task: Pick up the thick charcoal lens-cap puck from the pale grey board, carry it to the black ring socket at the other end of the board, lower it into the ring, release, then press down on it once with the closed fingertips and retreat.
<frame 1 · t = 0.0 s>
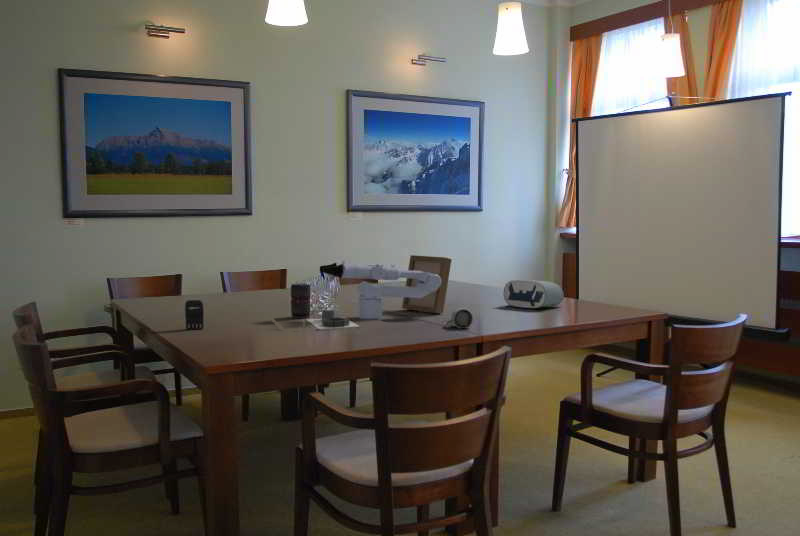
hand: (322, 269, 277), 22 cm above the table, tool horizontal, fingers open, 7 cm apart
photo frame: (430, 311, 310), on the table
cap: (328, 320, 278), point 1 cm above the table, touching board
camera lens: (301, 320, 286), on the table
ceramic mug: (458, 328, 266), on the table
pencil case: (533, 307, 323), on the table
board: (332, 325, 272), on the table
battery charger: (194, 329, 263), on the table
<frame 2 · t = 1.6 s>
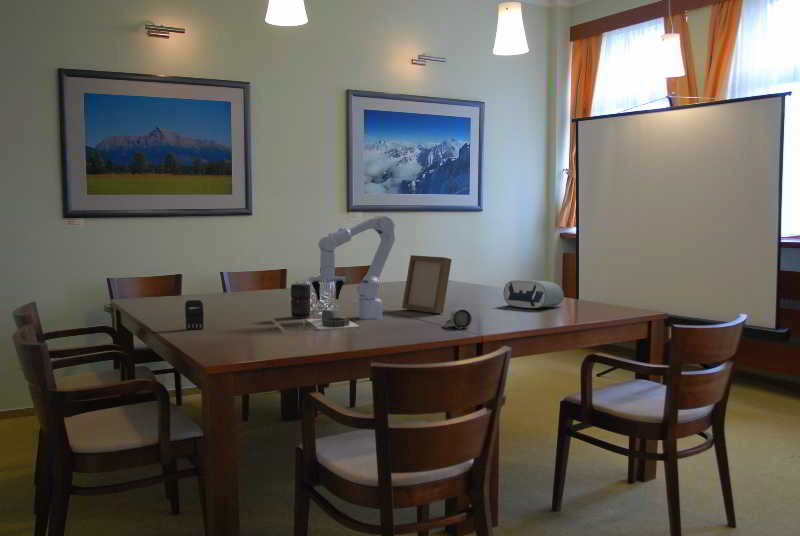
hand: (327, 299, 278), 9 cm above the table, tool pointing down, fingers open, 7 cm apart
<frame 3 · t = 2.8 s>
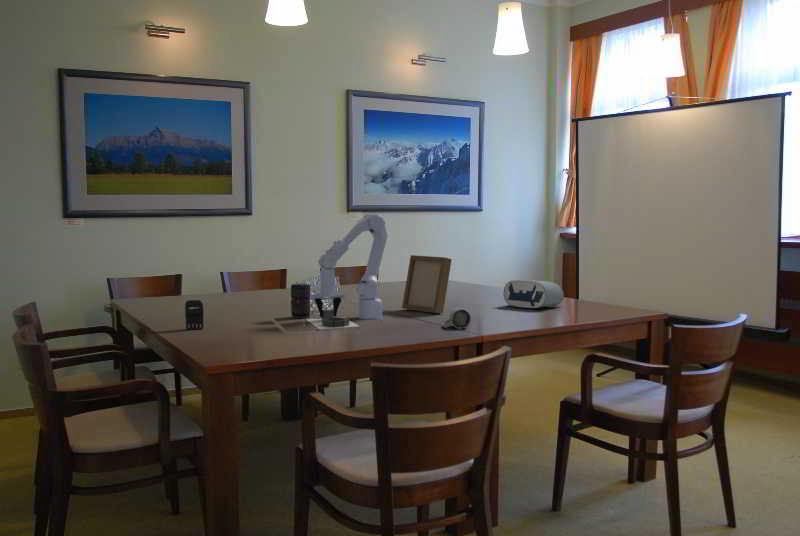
hand: (328, 316, 278), 2 cm above the table, tool pointing down, fingers closed on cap, 5 cm apart
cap: (328, 320, 278), point 1 cm above the table, touching board, gripper
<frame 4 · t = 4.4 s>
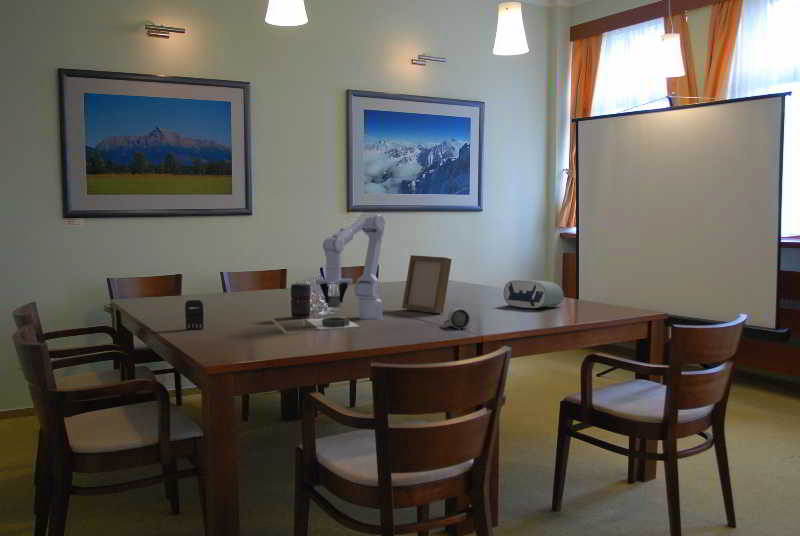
hand: (333, 302, 267), 9 cm above the table, tool pointing down, fingers closed on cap, 5 cm apart
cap: (333, 306, 267), point 8 cm above the table, touching gripper
when the fingers open (4 cm above the table, at t = 6.1 s): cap drops 1 cm, resting on board.
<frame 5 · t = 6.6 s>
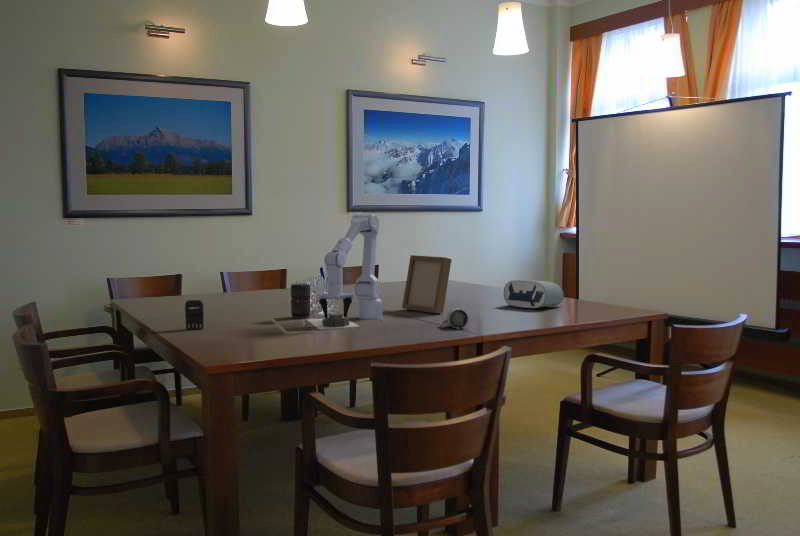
hand: (335, 317, 266), 4 cm above the table, tool pointing down, fingers open, 7 cm apart
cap: (335, 324, 266), point 1 cm above the table, touching board
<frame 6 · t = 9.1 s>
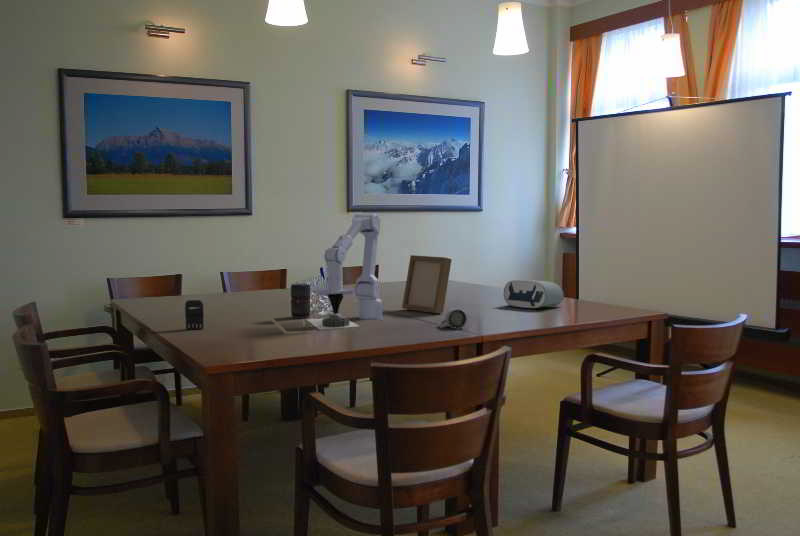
hand: (335, 313, 266), 6 cm above the table, tool pointing down, fingers closed
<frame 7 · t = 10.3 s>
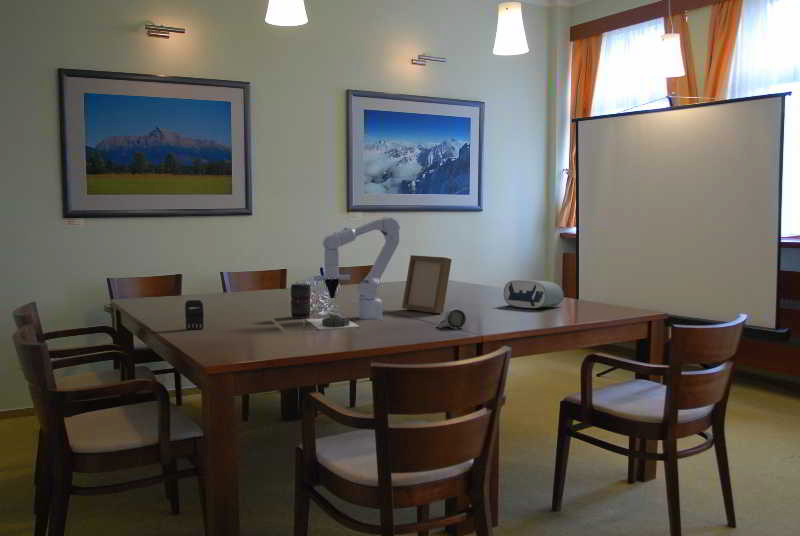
hand: (332, 297, 279), 10 cm above the table, tool pointing down, fingers closed
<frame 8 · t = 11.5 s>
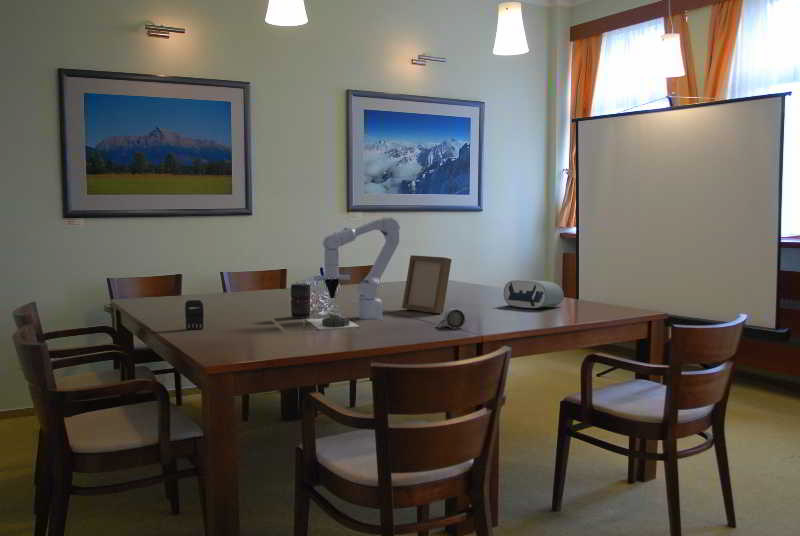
hand: (332, 297, 279), 10 cm above the table, tool pointing down, fingers closed
at the end: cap 0.1 cm from the target spot on the board, point 1.0 cm above the board's base; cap tilted 0°; the gripper is holding nothing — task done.
